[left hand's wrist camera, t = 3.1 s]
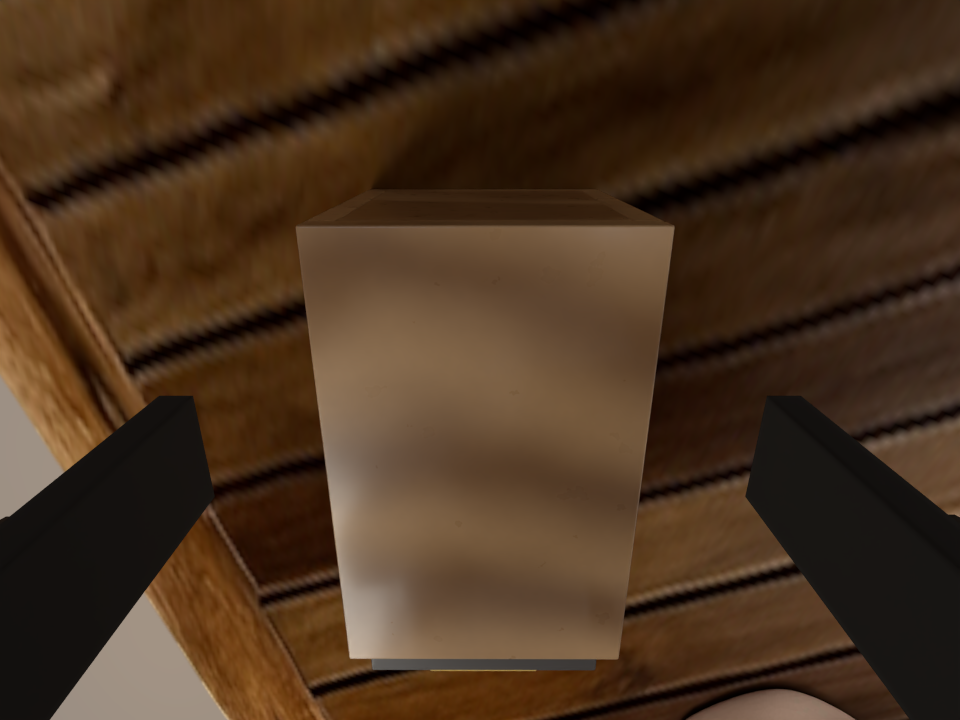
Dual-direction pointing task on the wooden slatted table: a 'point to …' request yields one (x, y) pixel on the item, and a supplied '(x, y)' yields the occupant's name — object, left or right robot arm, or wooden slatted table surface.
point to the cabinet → (484, 413)
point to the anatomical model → (771, 707)
